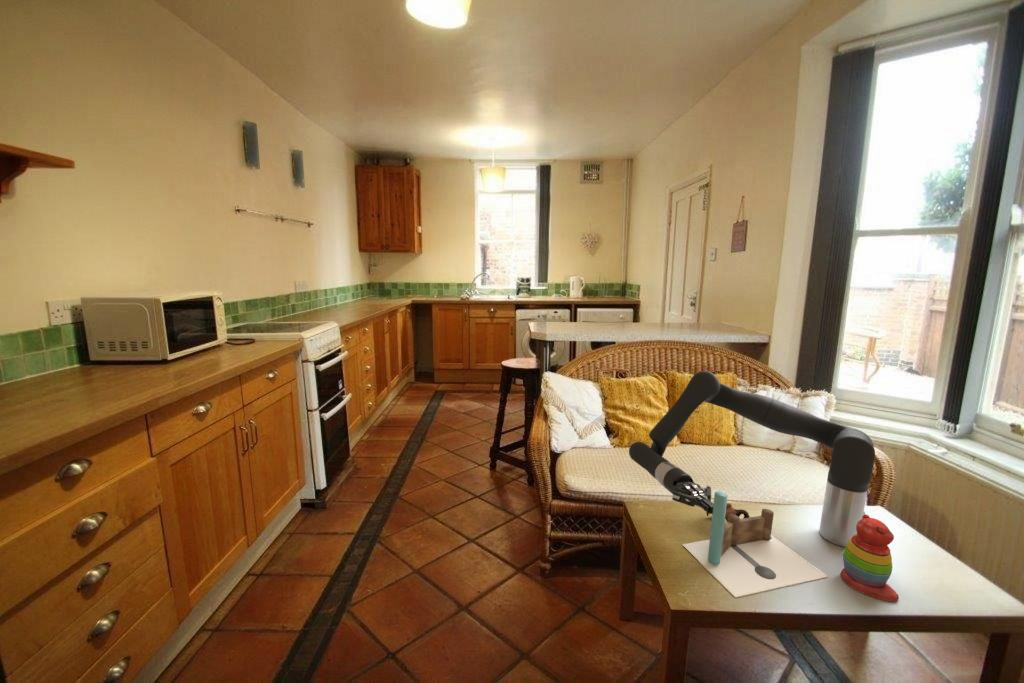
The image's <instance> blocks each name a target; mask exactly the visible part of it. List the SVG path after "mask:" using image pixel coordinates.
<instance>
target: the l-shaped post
mask: <svg viewBox="0 0 1024 683" xmlns="http://www.w3.org/2000/svg"><path fill="white" fill-rule="evenodd" d="M713 498H714V499H713V504H714V505H713V514H711V515H712V517H711V524H710V533H709V540H710V542H709V551H708V561H709V562H710V563H711V564H714V565H719V564H720V557H721V556H722V555H723V554H724V553H725V552H726V550H727V549H728V548H729V547H730V546H731V539H732V530H733V523H731V522H728V523H727V522H726V524H725V521H726V519H725V514H726V505H727V503H728V495H727V493H725V492H723V491H715V492H714V497H713Z"/></svg>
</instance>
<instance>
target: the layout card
mask: <svg viewBox="0 0 1024 683" xmlns="http://www.w3.org/2000/svg"><path fill="white" fill-rule="evenodd" d="M709 542H710V539H706V540H705V539H704V540H699V541H694V542H689V543H688V542H687V543H683V544H682V545H683V546H684V547H685V548H686V549H687V550H688V551H689V552H690V553H691V554H692V555H693V556H694V557H695V558H696V559H697V560H698V561H697V562H699V564H700V565H701V566H702V567H704V568H705V570H706V571H708V573H709V574H711V575H712V577H714V578H715V580H717V581H718V582H719V584H720V585H722V586H723V587H724V588H725V589H726V590H727V591H728V592H729V593H730V594H731V595H732V596H733V598H734V599H736V598H741V597H745V596H752V595H755V594H760V593H764V592H770V591H773V590H778V589H782V588H787V587H790V586H795V585H800V584H804V583H809V582H813V581H818V580H823V579H828V578H829V576H828V575H827V574H826V573H824V572H823V571H822V570H820V569H819V568H818V567H816V566H814V565H813V564H812V563H810V562H809V561H808V560H806V559H805V558H803V557H802V556H801V555H800V554H798V553H797V552H796V551H794V550H793V549H791V548H790V547H788V546H787V545H786V544H784V543H783V542H781V541H780V540H779V539H778V538H776V537H774V536H773V535H772V534H771V538H770V540H769V541H765V540H763V539H760V540H755V541H750V542H744V543H739V544H737V546H735V547H729V548H728V549H727V550H726V552H725V553H724V554H723V555H722V556H721V557H720V564H719V565H714V564H711V563H710V562H709V561H708V551H709ZM683 546H682V547H683ZM684 547H683V548H684ZM685 548H684V549H685ZM686 549H685V550H686ZM687 550H686V551H687ZM688 551H687V552H688ZM689 552H688V553H689ZM690 553H689V554H690ZM691 554H690V555H691ZM692 555H691V556H692ZM693 556H692V557H693ZM694 557H693V558H694ZM696 559H695V560H696Z"/></svg>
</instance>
